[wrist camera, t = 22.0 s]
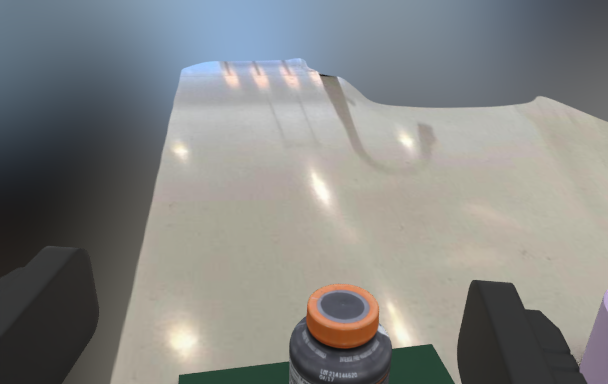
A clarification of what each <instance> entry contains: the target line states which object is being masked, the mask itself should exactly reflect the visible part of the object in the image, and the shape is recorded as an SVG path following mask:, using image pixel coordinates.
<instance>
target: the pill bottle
mask: <svg viewBox="0 0 608 384" xmlns="http://www.w3.org/2000/svg"><path fill="white" fill-rule="evenodd" d="M289 347H290V349H289V354H290V368H289V384H389V375H390V367H391V358H392V345H391V341H390V338H389V336H388V334H387V332H386V330H385V329H384V328H383V326H382V325H381V324H380V323H379V306H378V302H377V301H376V299H375V298H374V296H373V295H371V294H370V293H369V292H367V291H366V290H364V289H362V288H360V287H357V286H353V285H348V284H333V285H328V286H325V287H322V288H320V289H318V290H316V291H315V292H314V293H313V294H312V295H311V296H310V298H309V300H308V304H307V316H306V317H304V318H303V319H302V320H301V321H300V322H299V323H298V324H297V325H296V327H295V328H294V330H293V332H292V335H291V339H290V345H289Z"/></svg>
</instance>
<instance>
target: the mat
mask: <svg viewBox="0 0 608 384" xmlns="http://www.w3.org/2000/svg"><path fill="white" fill-rule="evenodd" d="M289 368H290V362H282V363H273V364H265V365H257V366H249V367H241V368H233V369H225V370H216V371H208V372H200V373H192V374H184V375H179V384H289ZM389 384H455V383H454V382H453V380H452V378H451V376H450V375H449V373H448V371H447V369H446V368H445V366H444V364H443V363H442V361H441V359H440V357H439V356H438V354H437V352H436V350H435V349H434V347H433V345H432V344H428V345H420V346H412V347H404V348H396V349H392V358H391V367H390V375H389Z"/></svg>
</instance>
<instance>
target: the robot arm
mask: <svg viewBox="0 0 608 384" xmlns="http://www.w3.org/2000/svg"><path fill="white" fill-rule="evenodd" d="M98 317H99V306H98V300H97V294H96V289H95V283H94V278H93V273H92V267H91V262H90V257H89V254H88V252H87V251H86V250H85V249H81V248H69V247H55V246H47V247H45V248H43V249H42V250H41V251H40V252H39V253H38V254H37V255H36V256H35V257H34V258H33V259H32V260H31V261H30V263H28V264H27V265H26V266H25V268H20V267H19V268H17V269H16V270H14V271H12V272H10V273H9V274H7V275H5V276H3V277H1V278H0V384H62V382H63V381H64V379H65V378H66V376H67V375H68V373H69V372H70V370H71V368H72V367H73V365H74V364H75V362H76V361H77V359H78V358H79V356H80V355H81V353H82V351H83V350H84V348H85V347H86V346H87V344H88V343H89V341H90V339H91V338H92V336H93V334H94V332H95V330H96V327H97V323H98ZM457 360H458V369H459V374H460V378H461V382H462V384H587V382H586V380H585V378H584V376H583V374H582V373H580V368H579V366H578V364H577V362H576V360H575V358H574V356H573V355H571V354H570V349H569V347H568V345H567V343H566V341H565V339H564V337H563V335H562V333H561V331H560V329H559V328H558V327H556V326H555V325H554V324H553V323H552V322H551V321H550V320H549V319H548V318H547V317H546V316H545V315H544V314H543V313H542V312H541V311H539V310H526V309H525V308H524V306H523V304H522V302H521V299H520V297H519V295H518V293H517V290H516V288H515V286H514V285H513V284H512V283H507V282H494V281H481V280H473V281H472V282H471V284H470V287H469V291H468V296H467V300H466V305H465V310H464V314H463V319H462V324H461V328H460V333H459V338H458V346H457Z"/></svg>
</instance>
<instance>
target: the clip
mask: <svg viewBox="0 0 608 384" xmlns="http://www.w3.org/2000/svg"><path fill="white" fill-rule="evenodd" d="M579 368H580V373H582V374H583V376H584V378H585V380H586V382H587V384H608V289H607V291H606V292H605V294H604V297H603V300H602V303H601V306H600V308H599V311H598V314H597V317H596V320H595V323H594V326H593V329H592V332H591V335H590V338H589V341H588V343H587V346H586V349H585V352H584V355H583V358H582V361H581V364H580V367H579Z"/></svg>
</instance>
